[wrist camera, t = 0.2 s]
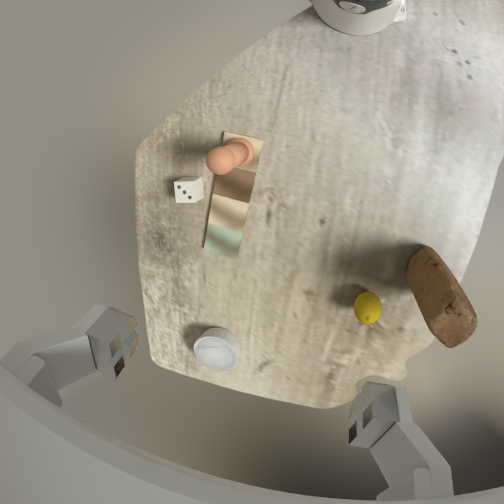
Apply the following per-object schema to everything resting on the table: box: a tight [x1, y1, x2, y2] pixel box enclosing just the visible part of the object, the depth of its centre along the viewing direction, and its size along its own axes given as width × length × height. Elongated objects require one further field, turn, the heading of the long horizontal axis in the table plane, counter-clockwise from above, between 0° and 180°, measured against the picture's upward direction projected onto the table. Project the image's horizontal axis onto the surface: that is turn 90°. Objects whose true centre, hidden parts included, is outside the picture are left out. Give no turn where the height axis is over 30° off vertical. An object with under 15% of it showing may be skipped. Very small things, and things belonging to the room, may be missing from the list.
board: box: [204, 132, 263, 259], centre depth 57 cm, size 24×7×1 cm, turn 167°
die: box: [174, 177, 203, 203], centre depth 57 cm, size 4×4×4 cm
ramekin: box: [193, 328, 240, 371], centre depth 72 cm, size 11×11×5 cm
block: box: [406, 246, 478, 348], centre depth 45 cm, size 11×8×20 cm
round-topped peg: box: [206, 138, 254, 175], centre depth 47 cm, size 5×5×13 cm
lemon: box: [354, 292, 381, 324], centre depth 56 cm, size 6×6×8 cm
